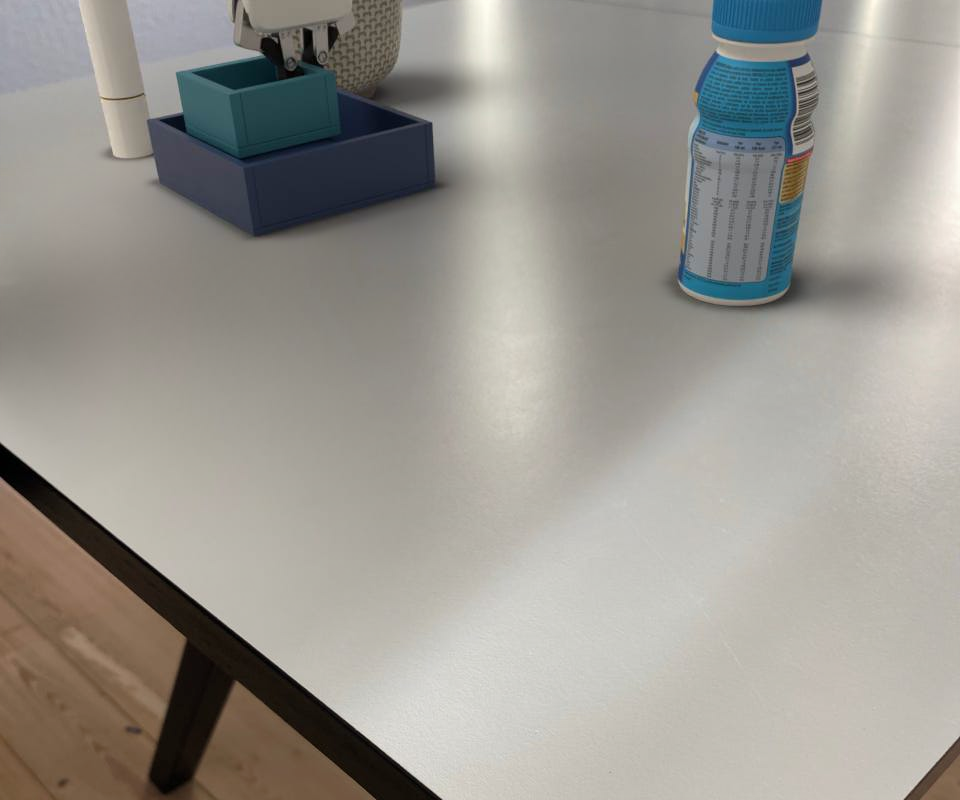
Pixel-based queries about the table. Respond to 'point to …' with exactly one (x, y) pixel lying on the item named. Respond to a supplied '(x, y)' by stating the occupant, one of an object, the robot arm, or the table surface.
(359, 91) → the planter
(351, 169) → the navy bin
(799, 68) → the beverage bottle
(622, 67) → the table surface
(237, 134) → the teal bin
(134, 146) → the tube
